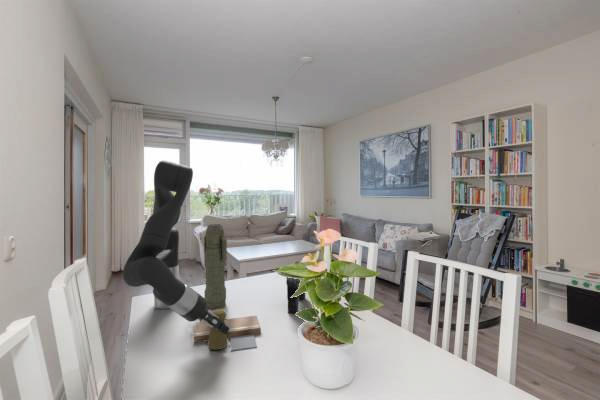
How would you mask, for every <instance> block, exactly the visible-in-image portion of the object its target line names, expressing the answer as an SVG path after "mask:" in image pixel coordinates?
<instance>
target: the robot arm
mask: <svg viewBox="0 0 600 400" xmlns="http://www.w3.org/2000/svg"><path fill="white" fill-rule="evenodd" d="M156 164H157V163H156ZM193 175H194V172H193V169H192V167H190V166H188V165H185V164H181V163H177V162H173V161H170V160H169V161H168V160H161V161H159V162H158V164H157V165H156V166H155V169H154V173H153V186H154V187H153V188H154V202H153V207H152V208H153V209H152V210H153V211H152V214H151V215H150V216H149V217H148V219H147V221H146V222H145V225H144V227H143V230H142V232H141V236H140V239H139V242H138V244H137V245H136V246H134V249H133V251H132V252H131V254H130V255H129V256H128V258H127V260H126V262H125V264H124V266H123V270H122V277H123V278H122V279H123V281H124V283H125V284H126V285H127V286H129V287H142V286H146V285H148V286H150V287H152V288H153V289H152V294H153V297H154V300H153V301H154V302H153V303H154V305H153V306H154V309H159V310H160V309H161V310H163V309H164V310H165V309H167V310H168V309H170V310H171V311H173V312H174V313H176V314H177V315H178V316H180V317H182V318H183V319H185V320H186V321H187V322H195V321H197V320H199V321H200V322H203V323H206V324H207V325H209V326H210V327H215V328H216V329H217V330H218V331H221V332H222V333H224V334H227V332H228V331H229V327H228V326H226V325H225V323H224V322H222V321H221V320H220V319H219V318H218V316H216V315H215V314H213V313H212V311H213V310H212V309H207V308H206V306H207V301H206V299H205V296H202V295H201V294H200V293H198V291H196V290H194V289H193V288H191V287H190V286H189V285H187V284H185V283H184V282H183V281H181V279H180V272H179V271H180V270H179V246H180V245H179V243H180V235H179V234H180V233H179V230H178V229H177V228H176V227H174V226H176V224H177V223H178V222H179V219H180V216H181V210H182V209H181V208H182V206H183V205H184V204H183V203H184V202H185V199H186V198H187V195H188V192H189V190H190V188H191V185H192V180H193ZM172 192H173V193H175V194H173V193H172ZM164 251H168V252H167V253H166V254H164V255H162V256H160V257H157V256H158V255H160V254H161V253H162V252H164ZM212 315H213V316H214V318H213V316H212Z"/></svg>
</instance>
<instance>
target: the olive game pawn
mask: <svg viewBox="0 0 600 400" xmlns="http://www.w3.org/2000/svg"><path fill="white" fill-rule="evenodd" d="M211 311H212V313H213V314H215V315H216V316H218V318H219V319H220V320H221V321H222V322H224V320H225V319H226V318H227V314H226V313H227V312H226V311H225V310H224V309H222V308H220V309H212V310H211ZM212 316H213V315H212ZM213 318H214V316H213ZM224 323H225V322H224ZM207 342H208V343H207V347H208V348H209V349H210V350H221V349H223V348H226V347H227V345H228V338H227V336H226V334H224V333H222V332H221V331H218V330H217V329H216V328H215V327H210V334H209V340H208V341H207Z"/></svg>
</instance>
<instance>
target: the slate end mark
mask: <svg viewBox="0 0 600 400" xmlns="http://www.w3.org/2000/svg"><path fill="white" fill-rule="evenodd" d="M229 340H230V349H231V352H235V351H241V350H248V349H254V348H255V349H256V348H258V345H257V342H256V338H255V334H251V335H244V336H237V337H230V338H229Z"/></svg>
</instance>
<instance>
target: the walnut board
mask: <svg viewBox="0 0 600 400" xmlns="http://www.w3.org/2000/svg"><path fill="white" fill-rule="evenodd" d="M224 322H225V325H226V326H228V327H229V331H228V332H227V334H226V336H227V339H228V338H229V339H230V337H237V336H244V335H251V334H254V335H258V334H261V332H262V329H261V325H260V321H259V319H258V315H252V316H251V315H249V316H240V317H233V318H227V319H225V320H224ZM209 334H210V326H209V325H207V324H206V323H203V322H201V321H200V322H195V328H194V335H193V339H194V340H193V342H194V343H199V342H200V343H201V342H209Z"/></svg>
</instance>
